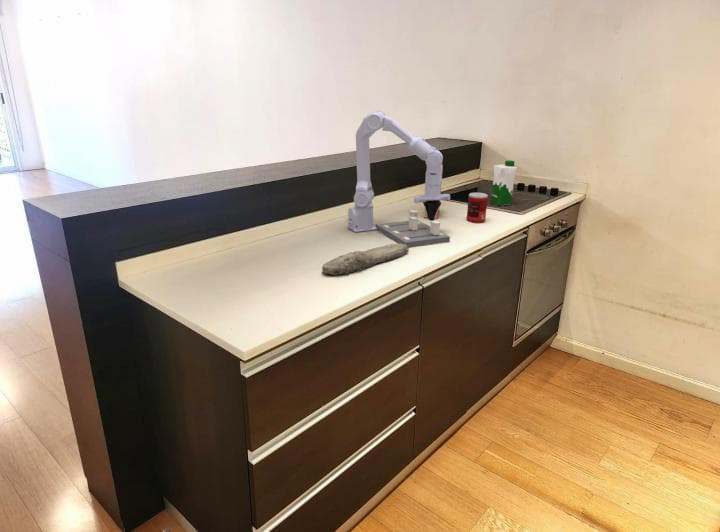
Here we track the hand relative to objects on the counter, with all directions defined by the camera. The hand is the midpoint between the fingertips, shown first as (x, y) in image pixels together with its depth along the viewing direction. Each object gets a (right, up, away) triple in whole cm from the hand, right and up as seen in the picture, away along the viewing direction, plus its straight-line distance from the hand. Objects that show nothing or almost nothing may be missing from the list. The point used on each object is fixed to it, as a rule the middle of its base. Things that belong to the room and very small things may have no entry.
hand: (430, 219), depth 187 cm
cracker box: (+4, +5, +27) cm, 28 cm away
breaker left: (-6, -1, +7) cm, 9 cm away
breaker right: (0, -6, -7) cm, 9 cm away
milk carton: (+40, +11, +46) cm, 61 cm away
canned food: (+21, +1, +19) cm, 29 cm away
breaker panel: (-7, -6, -1) cm, 10 cm away
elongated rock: (-24, -17, -28) cm, 41 cm away
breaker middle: (-7, -4, -2) cm, 8 cm away
